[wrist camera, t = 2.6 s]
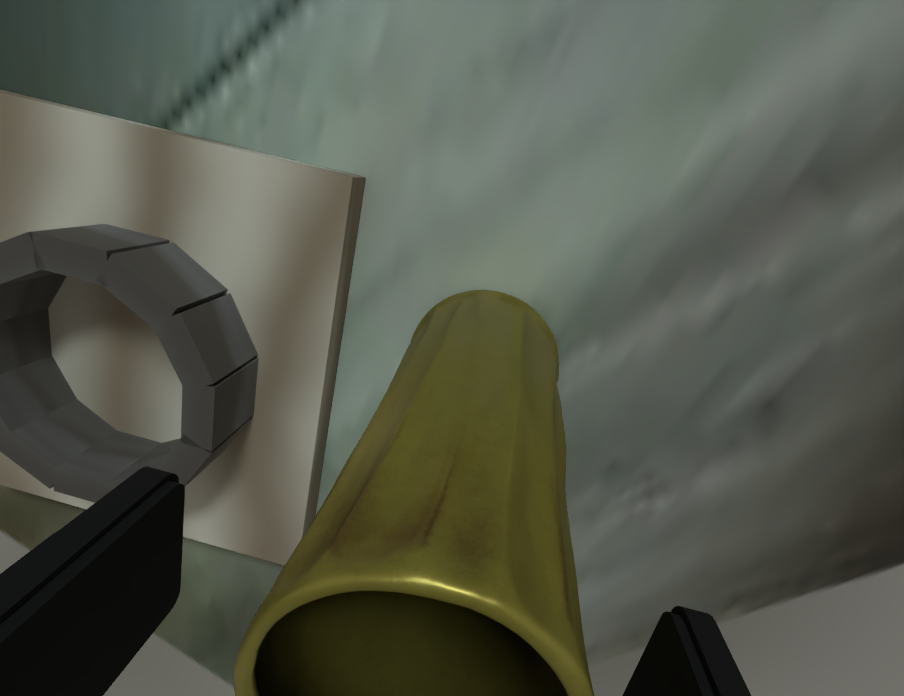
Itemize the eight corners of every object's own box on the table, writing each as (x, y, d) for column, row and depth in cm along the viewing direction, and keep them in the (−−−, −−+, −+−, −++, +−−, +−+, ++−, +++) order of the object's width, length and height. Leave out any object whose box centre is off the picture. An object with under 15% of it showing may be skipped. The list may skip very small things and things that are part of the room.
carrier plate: (365, 177, 18) (318, 176, 14) (310, 547, 24) (266, 623, 20) (-27, 83, 19) (-182, 56, 15) (17, 464, 25) (-84, 521, 21)
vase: (468, 451, 22) (383, 898, 8) (380, 344, 20) (115, 658, 7) (588, 379, 20) (731, 802, 6) (499, 257, 19) (446, 458, 5)
